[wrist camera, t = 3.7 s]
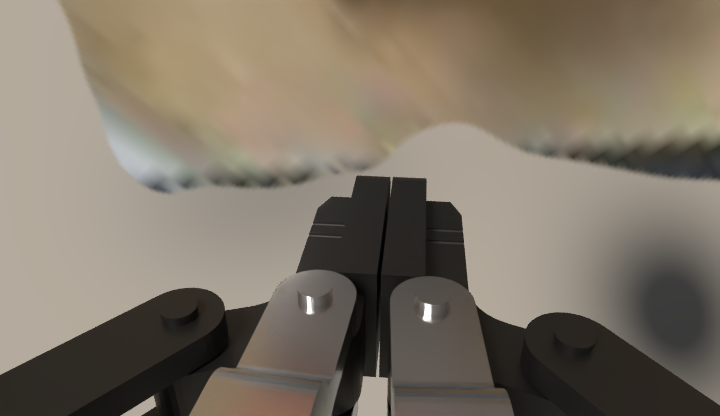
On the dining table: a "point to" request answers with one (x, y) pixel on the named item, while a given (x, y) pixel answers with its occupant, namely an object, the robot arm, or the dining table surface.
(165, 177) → the dining table surface
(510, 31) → the dining table surface
